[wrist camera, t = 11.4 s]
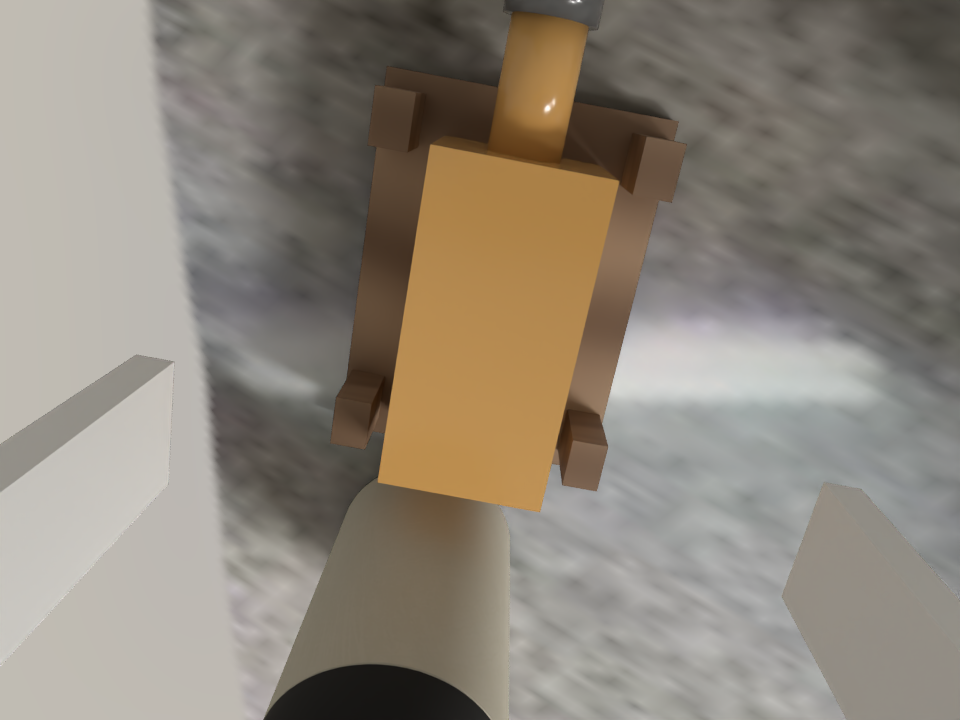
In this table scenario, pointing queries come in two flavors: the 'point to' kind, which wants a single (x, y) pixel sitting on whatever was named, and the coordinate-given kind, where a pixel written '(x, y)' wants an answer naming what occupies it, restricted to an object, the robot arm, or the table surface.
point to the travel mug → (406, 615)
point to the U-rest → (392, 232)
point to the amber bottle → (501, 279)
